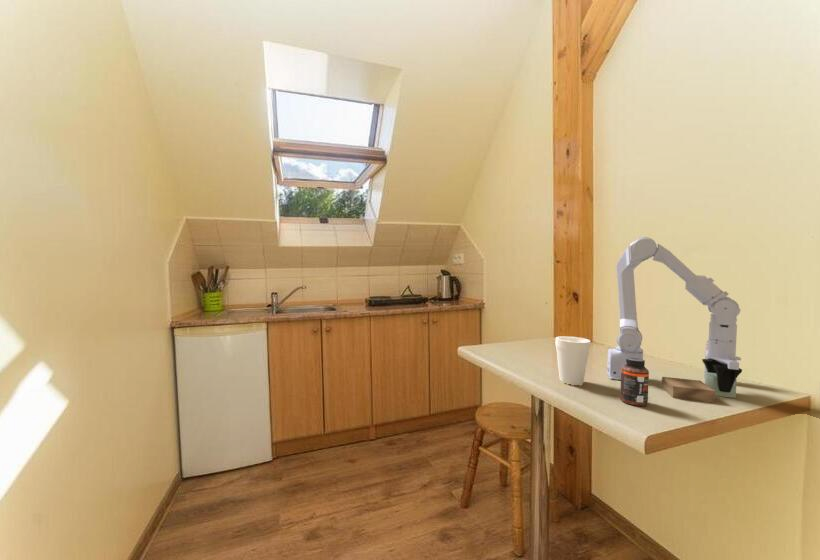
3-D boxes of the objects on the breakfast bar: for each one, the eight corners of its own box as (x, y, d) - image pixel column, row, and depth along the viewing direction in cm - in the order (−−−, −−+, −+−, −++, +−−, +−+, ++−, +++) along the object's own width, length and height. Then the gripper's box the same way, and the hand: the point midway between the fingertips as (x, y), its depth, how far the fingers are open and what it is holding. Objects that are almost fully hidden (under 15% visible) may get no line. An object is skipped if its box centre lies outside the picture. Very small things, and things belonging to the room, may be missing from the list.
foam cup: (596, 386, 100) (597, 342, 100) (569, 388, 98) (570, 343, 97) (573, 376, 109) (574, 335, 109) (547, 378, 107) (549, 336, 107)
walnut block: (672, 399, 92) (673, 386, 92) (661, 388, 100) (662, 376, 100) (714, 404, 89) (715, 390, 89) (699, 392, 97) (700, 380, 97)
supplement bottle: (648, 409, 84) (650, 363, 84) (620, 403, 87) (621, 359, 87) (647, 401, 89) (648, 358, 89) (620, 396, 92) (621, 354, 92)
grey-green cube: (712, 395, 94) (713, 377, 94) (704, 389, 99) (705, 372, 99) (735, 397, 93) (736, 379, 92) (726, 391, 97) (727, 374, 97)
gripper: (755, 346, 87) (752, 399, 87) (727, 336, 100) (725, 382, 101) (720, 344, 90) (717, 395, 90) (698, 334, 103) (696, 379, 104)
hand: (720, 388), depth 96 cm, fingers closed on grey-green cube, 5 cm apart
